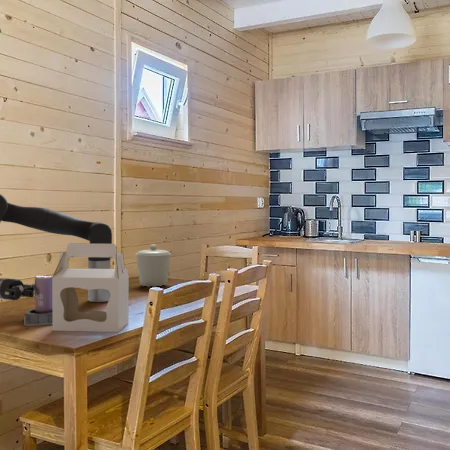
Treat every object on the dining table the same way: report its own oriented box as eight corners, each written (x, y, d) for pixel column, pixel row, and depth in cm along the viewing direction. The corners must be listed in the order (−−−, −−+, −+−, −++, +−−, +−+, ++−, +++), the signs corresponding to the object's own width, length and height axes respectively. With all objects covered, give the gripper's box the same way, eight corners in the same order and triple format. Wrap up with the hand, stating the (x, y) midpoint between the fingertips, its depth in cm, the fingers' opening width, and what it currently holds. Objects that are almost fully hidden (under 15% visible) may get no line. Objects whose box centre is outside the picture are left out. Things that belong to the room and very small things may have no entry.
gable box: (129, 323, 181) (129, 242, 180) (119, 332, 168) (119, 245, 167) (66, 321, 182) (66, 241, 181) (51, 331, 169) (51, 244, 168)
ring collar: (59, 316, 190) (59, 306, 190) (61, 323, 179) (61, 313, 179) (24, 319, 186) (24, 308, 186) (24, 326, 175) (24, 315, 175)
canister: (128, 285, 265) (128, 244, 264) (157, 282, 277) (157, 242, 276) (148, 290, 251) (148, 246, 250) (178, 286, 264) (178, 244, 263)
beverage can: (56, 317, 186) (56, 275, 185) (46, 321, 180) (46, 278, 179) (41, 316, 188) (41, 274, 187) (31, 319, 182) (31, 277, 181)
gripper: (-9, 281, 182) (26, 284, 176) (21, 276, 195) (56, 278, 189) (-9, 302, 183) (26, 306, 176) (22, 296, 196) (56, 299, 189)
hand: (41, 292), depth 182 cm, fingers open, 8 cm apart
